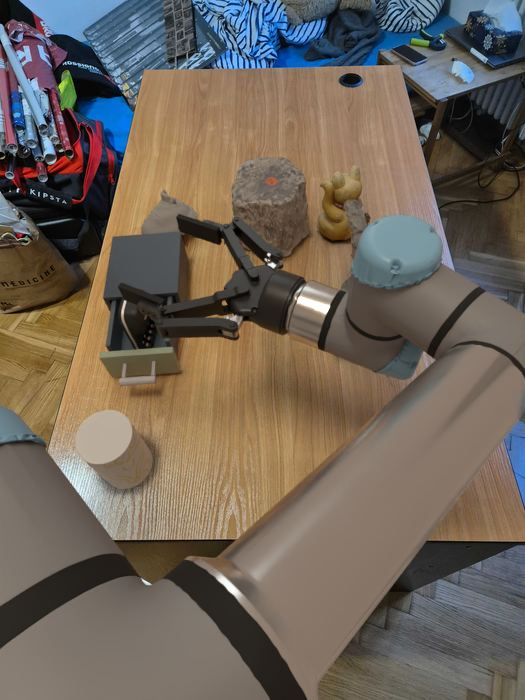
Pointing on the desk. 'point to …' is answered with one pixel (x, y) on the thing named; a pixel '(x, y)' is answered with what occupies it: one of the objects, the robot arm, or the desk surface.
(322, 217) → the decorative figurine
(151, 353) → the drawer
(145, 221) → the grey clay mound
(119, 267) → the cabinet
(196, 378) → the desk surface
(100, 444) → the cup
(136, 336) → the battery charger
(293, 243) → the petrified wood
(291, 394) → the desk surface
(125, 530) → the desk surface
